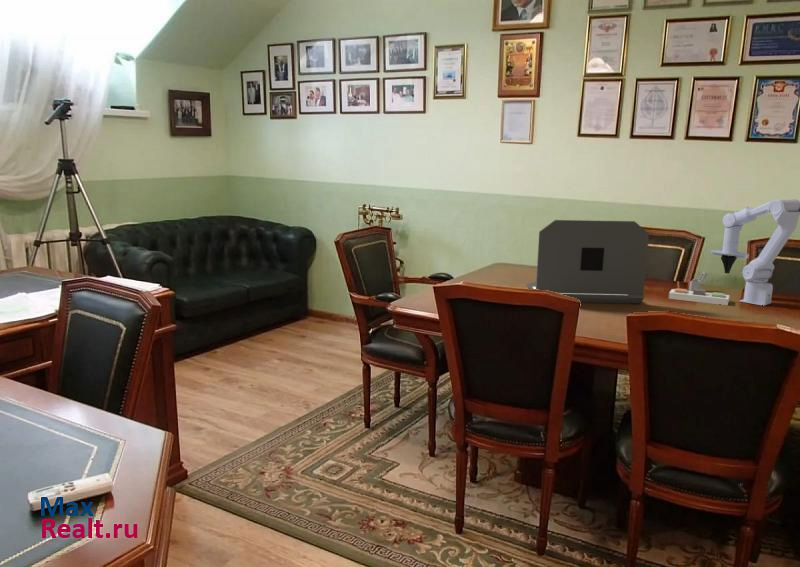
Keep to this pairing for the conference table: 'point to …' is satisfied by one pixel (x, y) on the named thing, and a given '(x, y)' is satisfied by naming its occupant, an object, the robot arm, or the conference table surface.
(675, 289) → the terracotta button
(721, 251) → the robot arm
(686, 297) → the button panel
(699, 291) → the charcoal button
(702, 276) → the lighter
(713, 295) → the sage button
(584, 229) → the laptop
